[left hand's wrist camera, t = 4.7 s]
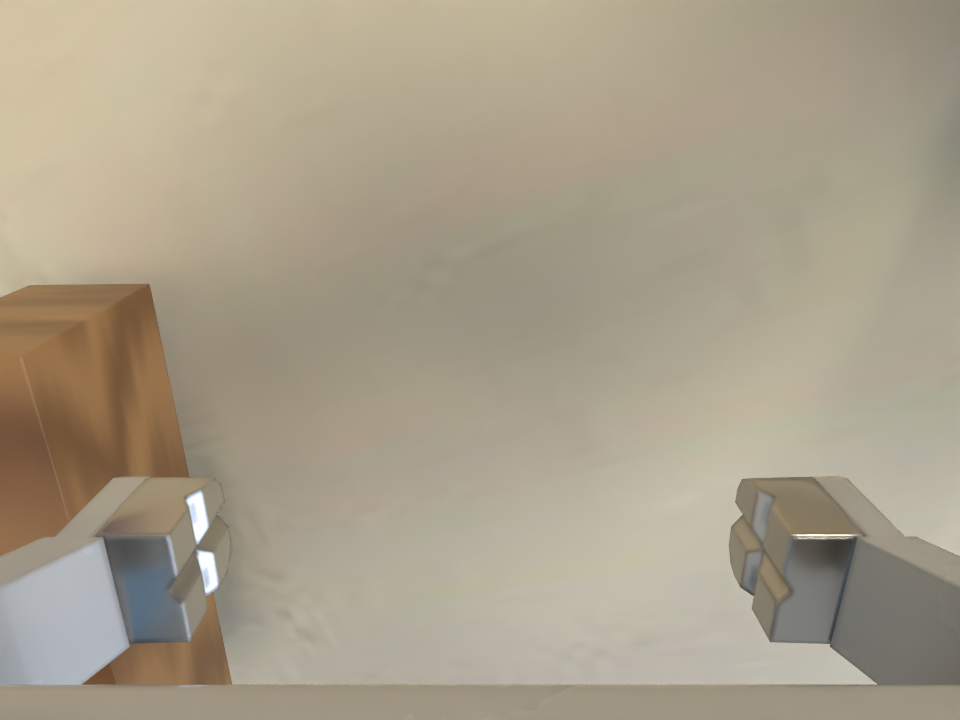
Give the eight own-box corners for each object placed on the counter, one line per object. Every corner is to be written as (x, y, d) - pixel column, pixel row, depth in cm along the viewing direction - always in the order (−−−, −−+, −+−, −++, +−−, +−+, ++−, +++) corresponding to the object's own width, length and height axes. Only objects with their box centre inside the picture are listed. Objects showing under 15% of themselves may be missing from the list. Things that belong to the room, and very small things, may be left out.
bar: (29, 284, 29) (-147, 357, 21) (150, 283, 29) (20, 356, 21) (143, 696, 38) (51, 857, 30) (235, 696, 38) (167, 857, 30)
